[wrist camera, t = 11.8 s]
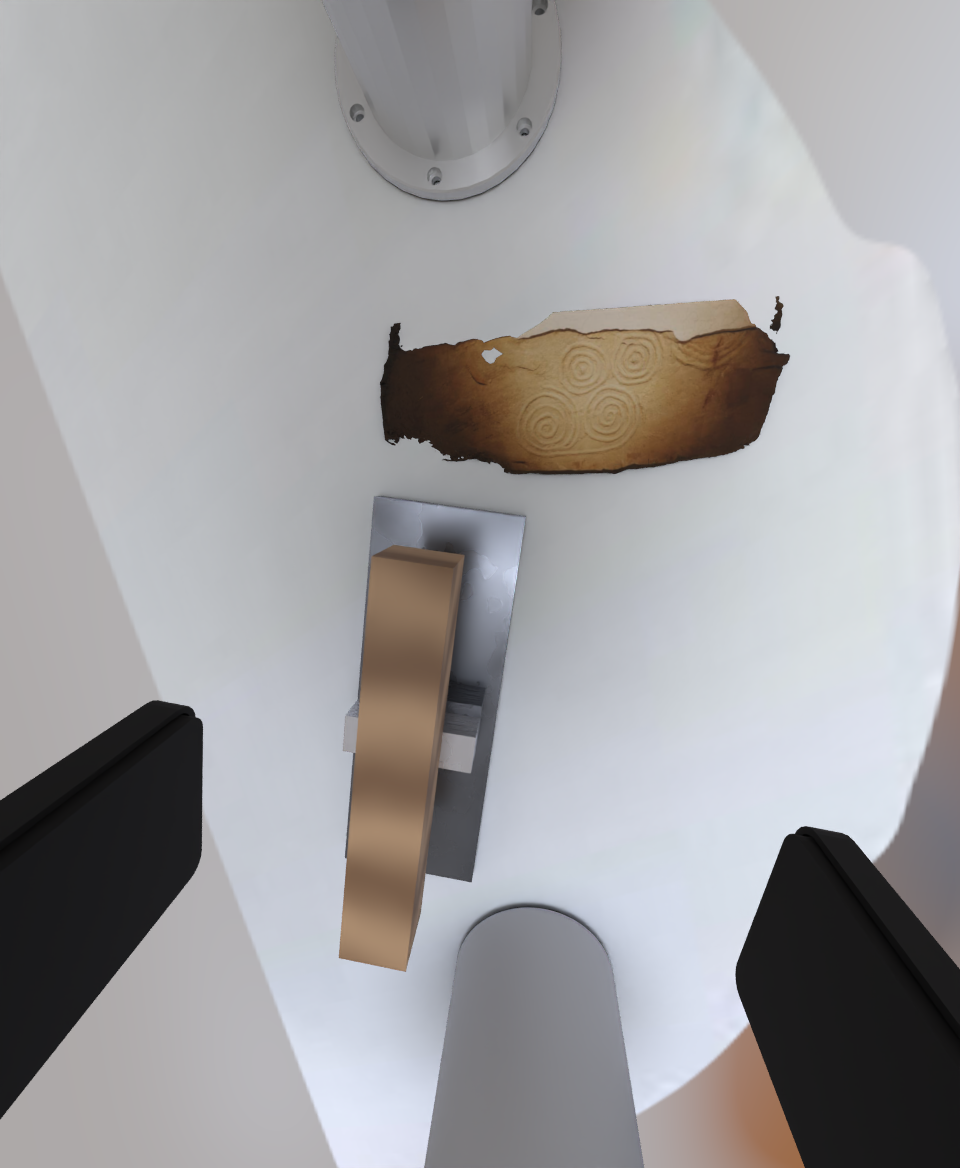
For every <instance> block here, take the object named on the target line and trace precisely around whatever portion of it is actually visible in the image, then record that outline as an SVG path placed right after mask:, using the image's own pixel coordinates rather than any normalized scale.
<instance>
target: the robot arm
mask: <svg viewBox="0 0 960 1168" xmlns="http://www.w3.org/2000/svg"><path fill="white" fill-rule="evenodd" d="M322 3H323V5H324V7H325V9H326V11H327V14H328V16H329V18H330V20H331V23H332V25H333V27H334V29H335V31H336V34H337V40H336V48H335V81H336V86H337V92H338V97H339V103H340V106H341V109H342V112H343V115H344V117H345V120H346V123H347V126H348V128H349V130H350V132H351V134H352V136H353V138H354V140H355V142H356V143H357V145H358V147H359V148H360V150H361V151H362V153H363V154H364V156H365V157H366V159H367V160H368V162H369V163H370V164H371V165H372V166H373V167H374V168H375V169H376V170H377V171H378V172H379V173H380V174H381V175H382V176H383V177H384V178H385V179H386V180H388V181H389V182H391V183H392V184H394V185H395V186H397V187H398V188H400V189H401V190H403V191H406V192H408V193H411V194H413V195H416V196H419V197H421V198H428V199H434V200H455V199H463V198H466V197H470V196H473V195H477V194H480V193H482V192H484V191H486V190H488V189H490V188H492V187H494V186H495V185H497V184H499V183H501V182H502V181H503V180H504V179H505V178H507V177H508V176H509V175H510V174H512V173H513V172H514V171H515V170H517V169H518V167H519V166H520V165H521V164H522V163H523V162H524V160H525V159H526V158H527V157H528V156H529V155H530V153H531V152H532V151H533V149H534V148H535V146H536V144H537V143H538V141H539V139H540V138H541V136H542V134H543V133H544V131H545V129H546V126H547V123H548V121H549V118H550V116H551V113H552V111H553V108H554V104H555V100H556V95H557V91H558V86H559V81H560V68H561V29H560V24H559V19H558V14H557V8H556V4H555V1H554V0H322ZM361 119H362V120H361ZM360 120H361V121H360ZM523 133H527V134H528V135H527V136H521V135H522V134H523ZM437 180H439V181H440V182H439V183H438V184H436V185H433V184H434V182H435V181H437ZM202 766H203V724H202V721H201V719H199V718H196V717H195V712H194V711H193V709H192V708H191V707H189V706H184V705H179V704H174V703H168V702H163V701H158V700H157V701H151V702H149V703H147V704H145V705H144V706H142V707H140V708H139V709H137V710H136V711H134V712H133V713H131V714H130V715H128V716H127V717H126V718H124V719H122V720H121V721H120V722H118V723H116V724H115V725H113V726H112V727H110V728H109V729H107V730H106V731H104V732H103V733H101V734H100V735H98V736H97V737H95V738H94V739H92V740H91V741H89V742H88V743H86V744H85V745H84V746H82V747H80V748H79V749H77V750H76V751H74V752H73V753H71V754H70V755H68V756H67V757H65V758H64V759H62V760H61V761H59V762H57V763H56V764H54V765H53V766H51V767H50V768H48V769H47V770H45V771H44V772H43V773H41V774H39V775H38V776H36V777H35V778H34V779H32V780H30V781H29V782H27V783H26V784H24V785H23V786H21V787H20V788H18V789H17V790H15V791H14V792H12V793H11V794H9V795H8V796H6V797H5V798H3V799H2V800H0V1119H1V1118H2V1117H3V1115H4V1114H5V1113H6V1111H7V1110H8V1109H9V1108H10V1106H11V1105H12V1104H13V1102H14V1101H15V1100H16V1099H17V1097H18V1096H19V1095H20V1094H21V1092H22V1091H23V1090H24V1089H25V1087H26V1086H27V1085H28V1084H29V1082H30V1081H31V1080H32V1079H33V1077H34V1076H35V1074H36V1073H37V1072H38V1071H39V1070H40V1068H41V1067H42V1066H43V1065H44V1063H45V1062H46V1061H47V1060H48V1058H49V1057H50V1056H51V1054H52V1053H53V1052H54V1051H55V1050H56V1048H57V1047H58V1046H59V1044H60V1043H61V1042H62V1041H63V1039H64V1038H65V1037H66V1036H67V1034H68V1033H69V1032H70V1031H71V1029H72V1028H73V1027H74V1025H75V1024H76V1023H77V1022H78V1020H79V1019H80V1018H81V1016H82V1015H83V1014H84V1013H85V1011H86V1010H87V1009H88V1008H89V1006H90V1005H91V1004H92V1003H93V1001H94V1000H95V999H96V997H97V996H98V995H99V994H100V993H101V991H102V990H103V989H104V988H105V986H106V985H107V984H108V982H109V981H110V980H111V978H112V977H113V976H114V975H115V974H116V972H117V971H118V969H120V967H121V966H122V965H123V964H124V962H125V961H126V960H127V958H128V957H129V956H130V955H131V953H132V952H133V951H134V950H135V948H136V947H137V946H138V945H139V943H140V942H141V941H142V940H143V938H144V937H145V936H146V934H147V933H148V932H149V931H150V929H151V928H152V927H153V926H154V924H155V923H156V922H157V921H158V919H159V918H160V917H161V915H162V914H163V913H164V912H165V910H166V909H167V908H168V907H169V905H170V904H171V903H172V902H173V900H174V899H175V898H176V897H177V895H178V894H179V893H180V891H181V890H182V889H183V888H184V886H185V885H186V884H187V883H188V881H189V880H190V879H191V877H192V876H193V874H194V873H195V871H196V869H197V867H198V864H199V861H200V858H201V851H202ZM735 975H736V985H737V990H738V993H739V996H740V999H741V1002H742V1004H743V1007H744V1009H745V1012H746V1015H747V1017H748V1020H749V1023H750V1025H751V1028H752V1030H753V1033H754V1036H755V1038H756V1041H757V1043H758V1046H759V1049H760V1051H761V1054H762V1056H763V1059H764V1062H765V1064H766V1067H767V1070H768V1072H769V1075H770V1077H771V1080H772V1083H773V1085H774V1088H775V1091H776V1093H777V1096H778V1098H779V1101H780V1104H781V1106H782V1109H783V1111H784V1114H785V1117H786V1119H787V1122H788V1125H789V1127H790V1130H791V1132H792V1135H793V1138H794V1140H795V1143H796V1145H797V1148H798V1151H799V1153H800V1156H801V1159H802V1161H803V1164H804V1166H805V1168H960V969H959V968H958V967H957V965H956V964H955V963H954V962H953V961H952V959H951V958H950V957H949V956H948V954H947V953H946V952H945V951H944V950H943V948H942V947H941V946H940V945H939V944H938V943H937V941H936V940H935V939H934V937H933V936H932V935H931V934H930V933H929V931H928V930H927V929H926V928H925V927H924V925H923V924H922V923H921V922H920V920H919V919H918V918H917V917H916V916H915V914H914V913H913V912H912V911H911V910H910V908H909V907H908V906H907V905H906V904H905V902H904V901H903V900H902V899H901V898H900V896H899V895H898V894H897V893H896V892H895V890H894V889H893V888H892V887H891V886H890V884H889V883H888V882H887V881H886V879H885V878H884V877H883V876H882V874H881V873H880V872H879V871H878V870H877V868H876V867H875V866H874V865H873V864H872V862H871V861H870V860H869V859H868V858H867V856H866V855H865V854H864V853H863V851H862V850H861V849H860V848H859V847H858V845H857V844H856V843H855V842H854V841H853V840H852V839H851V838H850V837H849V836H848V835H845V834H843V833H839V832H833V831H828V830H823V829H818V828H813V827H808V826H805V827H801V828H799V829H798V830H797V831H796V833H795V834H789V835H788V836H786V838H785V839H784V841H783V844H782V846H781V849H780V852H779V854H778V857H777V859H776V862H775V865H774V867H773V870H772V873H771V875H770V878H769V880H768V883H767V886H766V888H765V891H764V894H763V896H762V899H761V901H760V904H759V907H758V909H757V912H756V915H755V917H754V920H753V922H752V925H751V928H750V930H749V933H748V936H747V938H746V941H745V943H744V946H743V949H742V951H741V954H740V956H739V959H738V962H737V965H736V974H735Z"/></svg>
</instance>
